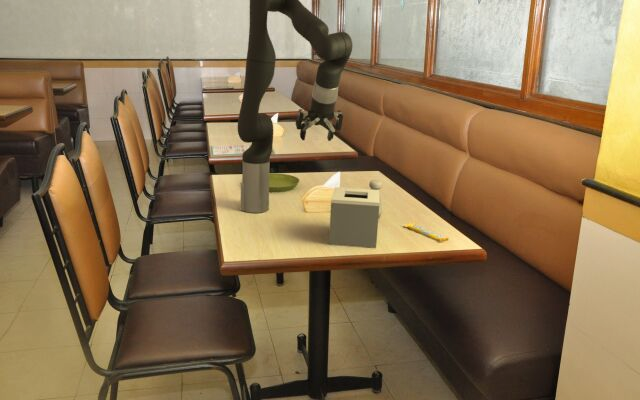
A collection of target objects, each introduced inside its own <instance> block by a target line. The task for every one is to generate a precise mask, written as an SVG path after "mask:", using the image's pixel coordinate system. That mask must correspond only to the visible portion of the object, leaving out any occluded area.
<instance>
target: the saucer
mask: <svg viewBox="0 0 640 400" xmlns="http://www.w3.org/2000/svg"><path fill="white" fill-rule="evenodd" d="M299 183H300V179H299V178H298V177H296V176H294V175H291V174H286V173H275V172H273V173H271V172H269V193H285V192H289V191H291V190H293V189H295V188H296V187H297V186H298V184H299Z"/></svg>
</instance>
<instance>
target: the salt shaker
mask: <svg viewBox="0 0 640 400" xmlns="http://www.w3.org/2000/svg"><path fill="white" fill-rule="evenodd" d="M368 185H369V189H372V190H379V202H380V203H379V216H378V220H379V219H380V218H381V216H382V214H383V206H382V196H381V189H382V187H383V182H382V181H381V180H378V179H377V180H376V179H373V180H370V181H369V184H368Z"/></svg>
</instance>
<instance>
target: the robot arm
mask: <svg viewBox="0 0 640 400" xmlns="http://www.w3.org/2000/svg"><path fill="white" fill-rule="evenodd" d="M269 12H272V13H280V14H282V15H285V16H287V17H288V18H289V19H290V20H291V23H292V24H291V25H292V26H293V29H294V30H295V32H296V33H298V34H299V35H300V36H301V37H302V38H303V39H305V40H306V41H307V42H308V43H309V44H310V45H311V47H312V49H313V51H314V52H315V54H316V55H317V57H318V58H320V59H321V60H322V62H321V63H319V65H318V67H317V70H316V75H315V81H314V84H313V87H312V88H313V89H312V92H311V98H310V103H309V109H308V111H307V110H303V109H302V108H299V110H298V113H297V116H296V120H295V126H296V130H300V131H299V137H300V139H301V141H305V140H306V136H307V135H306V134H307V131H308V129H309V128H311V127H312V126H325V125H326V126H327V127H328V132H327V141H328V142H331V141H332V140H333V139H334V135H335V132H336V131H339V132H340V131H341V130H342V126H343V125H342V124H343V119H344V115H343V112H342V110H339V109H338V111H336V112H335V108H336V103H337V100H338V93H339V87H340V80H341V75H342V73H343V71H344V69H345V67H346V65H347V63H348V61H349V60H350V57H351V55H352V53H353V40H352V37H351V35H350V34H348V33H347V32H344V31H338V32H334V33H329V27H328V25H327V24H326V23H325V22H324V21H323V20H322V19H321V18H320V17H318V16H316V14H314V13H313V12H312V11H310V10H309V9H308V8H307V7H306V6H305V5H304V4H303V3H302V2H301V1H300V0H249V28H248V29H249V30H248V34H249V35H248V41H247V42H248V44H247V52H246V59H245V71H244V72H245V76H244V83H243V92H242V97H241V98H242V100H241V104H240V110H239V115H238V120H237V134H238V137H239V139H240V140H241V141H242V142H243V143H248V144H249V143H251V144H250V146H249V147H248V148H247V149H246V150H244V151H243V152H242V157H241V158H242V167H241V168H242V171H241V172H242V175H241V176H242V179H241V181H242V182H241V183H240V211H242V212H245V213H251V214H259V213H260V214H261V213H265V212H268V211H269V210H270V192H269V173H270V166H271V165H270V163H271V162H270V160H271V159H270V157H271V156H272V153H273V143H274V125H273V120H272V118H271V116H269V115H268V114H267V113H264V112H260V113H259V110H260V107H261V102H262V99H263V97H264V96H265V94H266V93H267V90H268V89H269V88H270V85H271V84H272V81H273V79H274V75H275V69H276V68H275V67H276V58H277V55H276V50H275V48H274V46H273V45H274V44H273V42H272V39H271V38H270V34H269V31H268V15H269V14H268V13H269ZM323 60H324V61H323ZM306 116H307V117H306ZM333 118H335V120H336V121H335V124H333V122H332V121H331V120H333ZM304 119H305V120H304ZM303 120H304V121H303Z"/></svg>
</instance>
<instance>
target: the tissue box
mask: <svg viewBox="0 0 640 400" xmlns="http://www.w3.org/2000/svg"><path fill="white" fill-rule="evenodd" d="M379 203H380V202H379V190H372V189H371V188H369V189H368V188H355V187H339V186H338V187H337V186H334V188H333V191H332V195H331V200H330V215H329V216H330V217H329V219H330V220H329V237H328V239H329V240H328V245H330V246H331V245H333V246H341V247H342V246H345V247H357V248H370V249H371V248H372V249H376V248H377V242H378V241H377V240H378V230H379V229H378V228H379V227H378V226H379V219H378V216H379Z"/></svg>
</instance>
